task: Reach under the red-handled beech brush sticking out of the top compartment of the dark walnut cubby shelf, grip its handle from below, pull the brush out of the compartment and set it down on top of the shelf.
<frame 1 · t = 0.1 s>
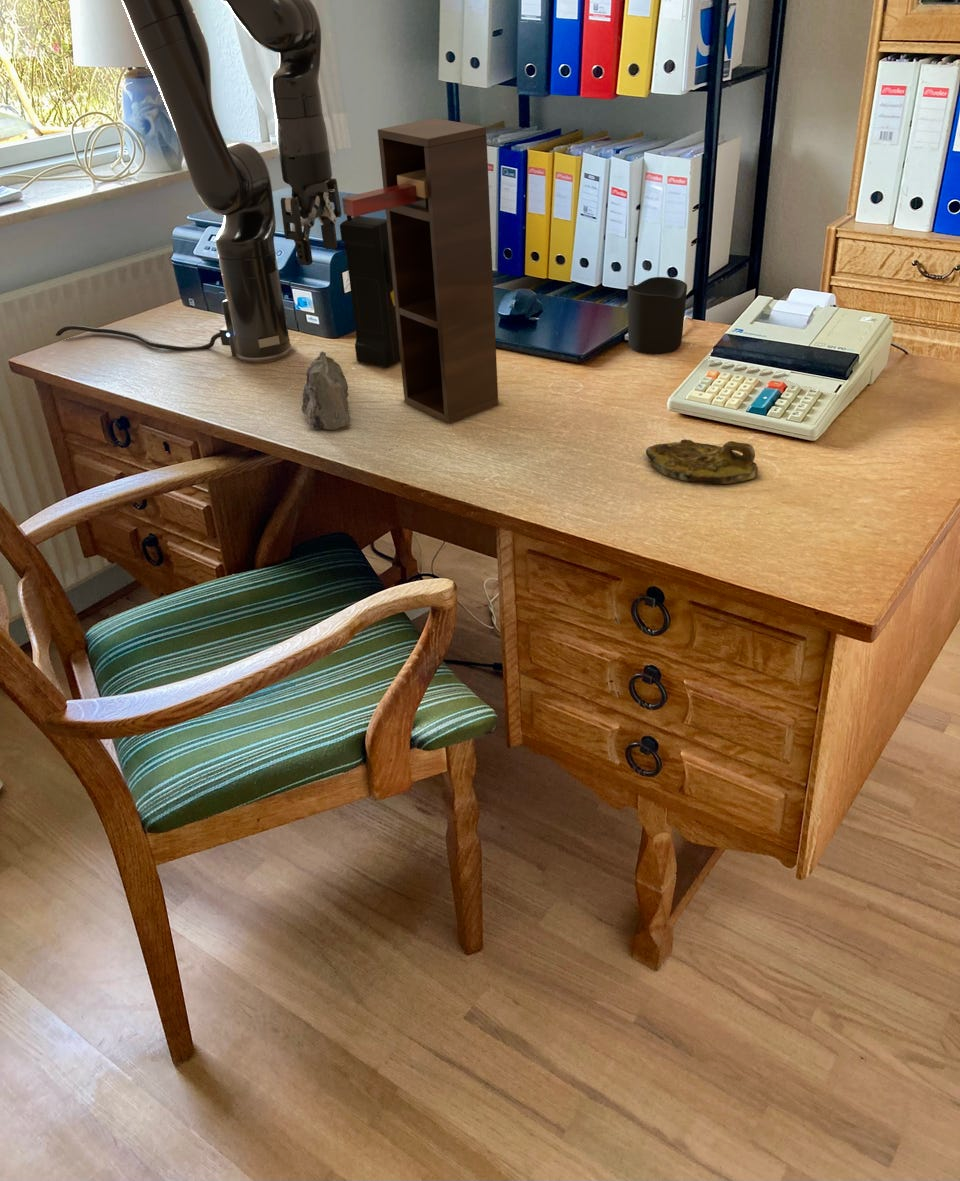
hand: (318, 256, 163), 17 cm above the table, tool pointing down, fingers open, 8 cm apart
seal: (699, 468, 134), on the table
brush: (435, 200, 138), point 30 cm above the table, touching shelf
mineral rock: (334, 414, 154), on the table
portable radio: (385, 360, 171), on the table
pen holder: (654, 346, 170), on the table
shelf: (451, 403, 155), on the table
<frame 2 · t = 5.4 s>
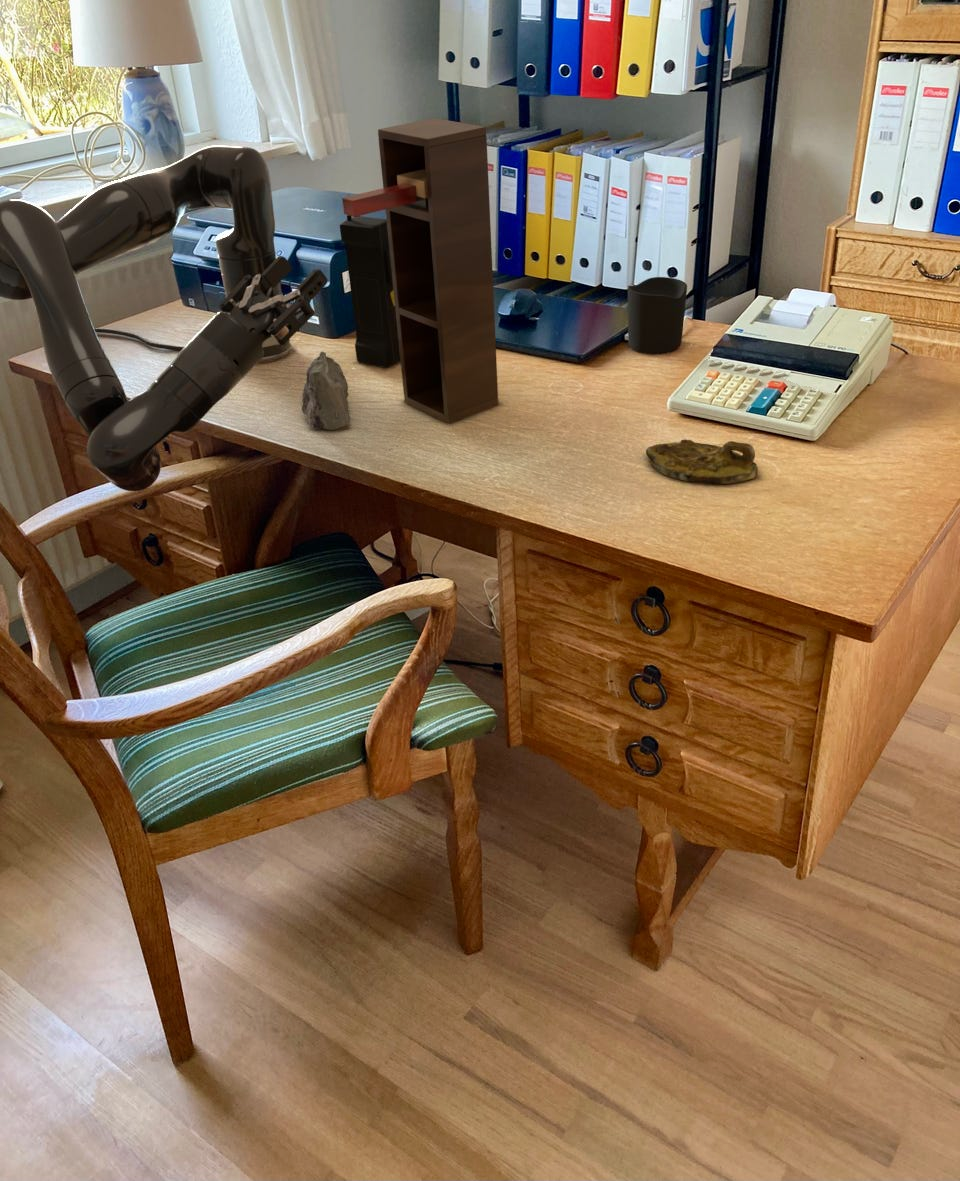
hand: (304, 267, 130), 25 cm above the table, tool pointing upward, fingers open, 8 cm apart
nothing on the table moved.
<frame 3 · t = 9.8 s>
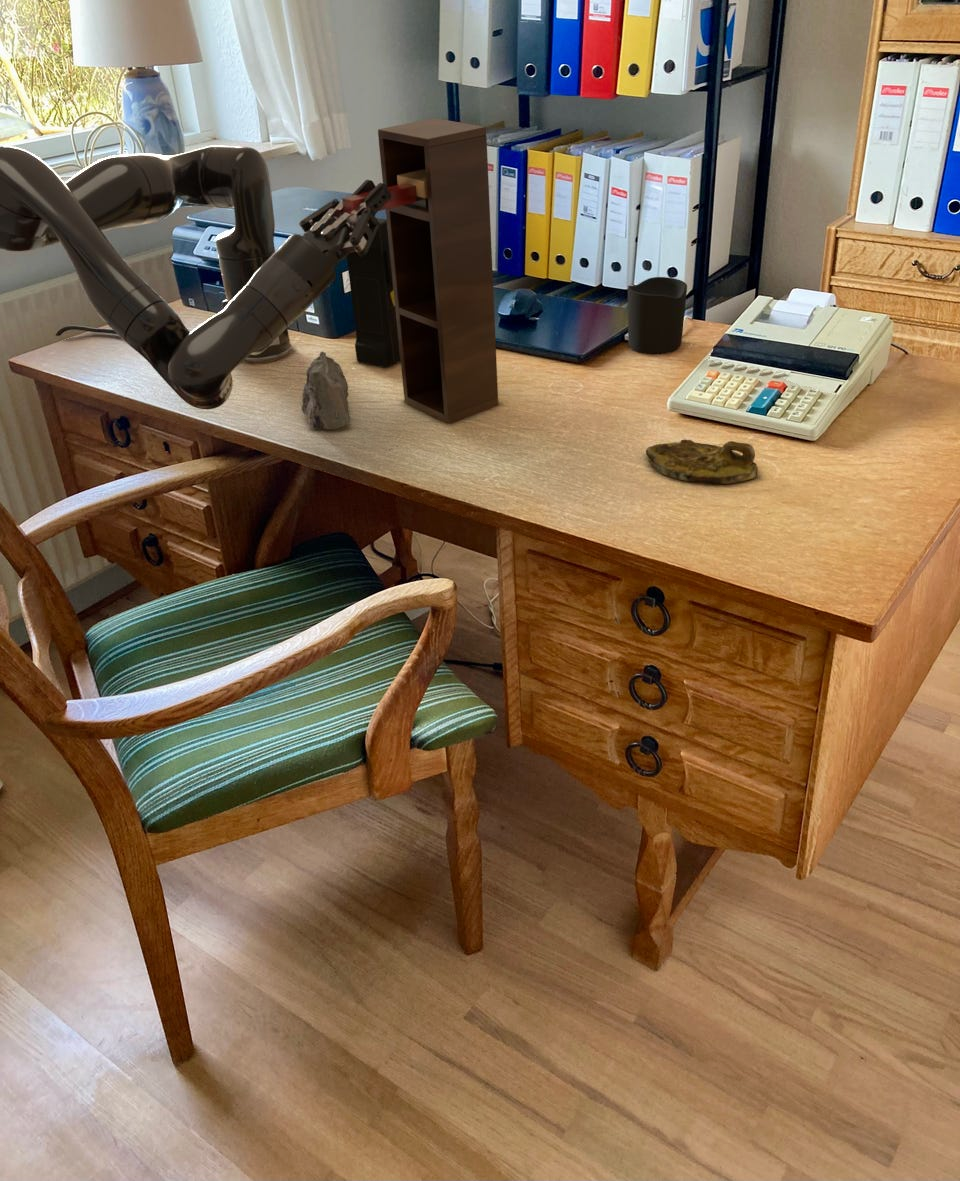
hand: (379, 187, 132), 33 cm above the table, tool pointing upward, fingers closed on brush, 2 cm apart
brush: (435, 200, 138), point 30 cm above the table, touching gripper, shelf
everything else where it was.
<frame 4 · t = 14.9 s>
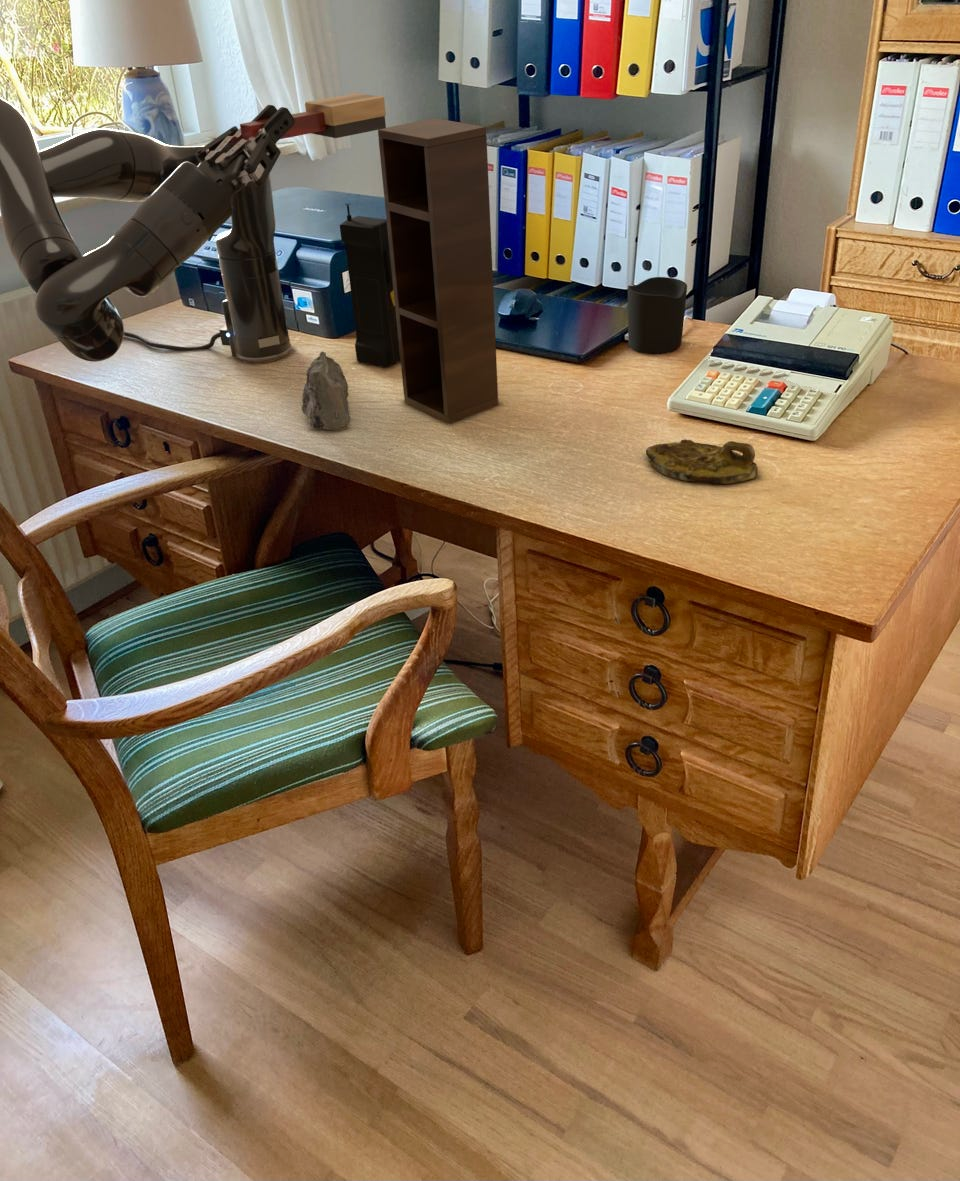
hand: (282, 112, 120), 43 cm above the table, tool pointing upward, fingers closed on brush, 2 cm apart
brush: (348, 130, 126), point 40 cm above the table, touching gripper
everything else where it was.
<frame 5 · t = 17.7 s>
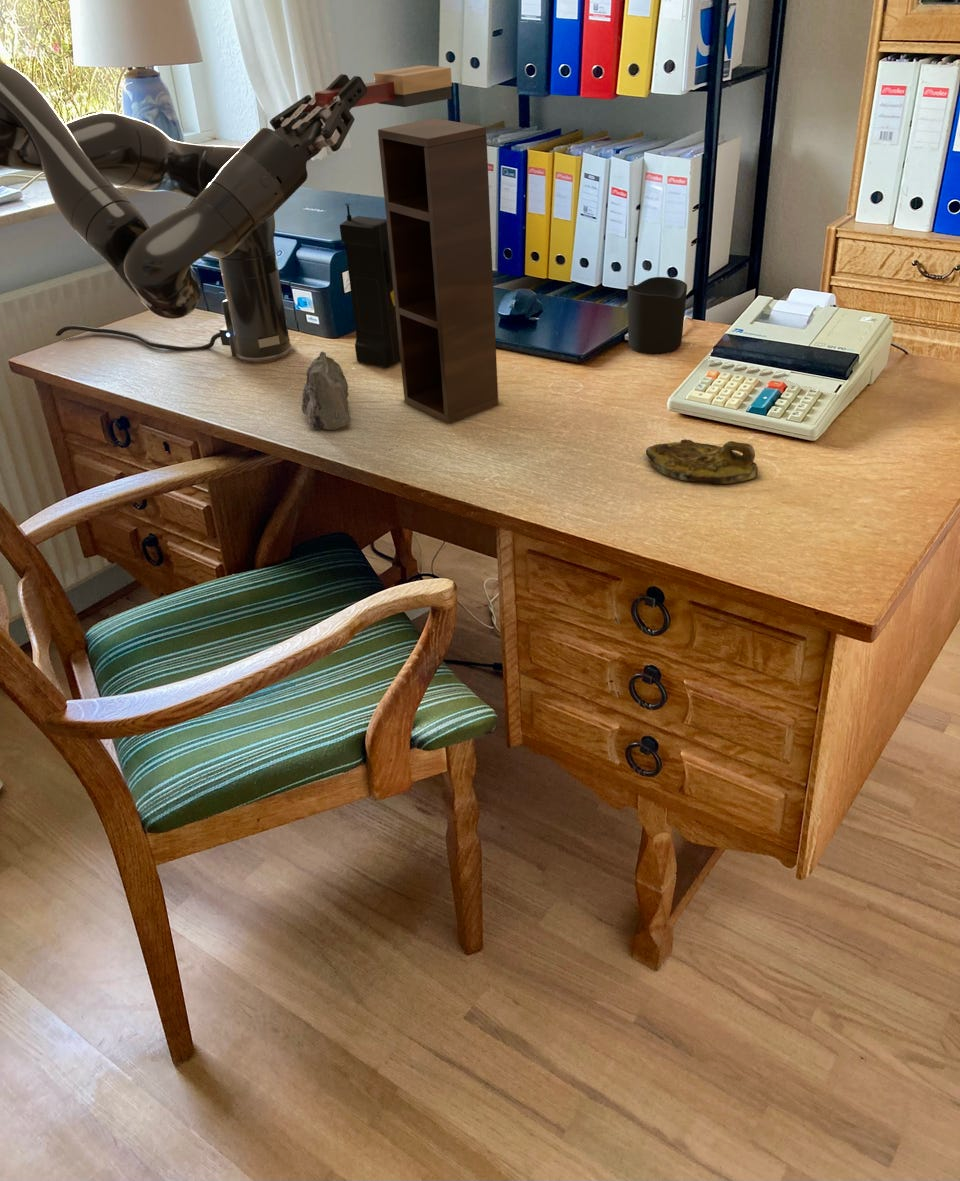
hand: (355, 82, 124), 45 cm above the table, tool pointing upward, fingers closed on brush, 2 cm apart
brush: (414, 101, 130), point 42 cm above the table, touching gripper
everything else where it was.
when the fingers open (42 cm above the table, at t = 19.8 s): brush stays where it is, resting on shelf.
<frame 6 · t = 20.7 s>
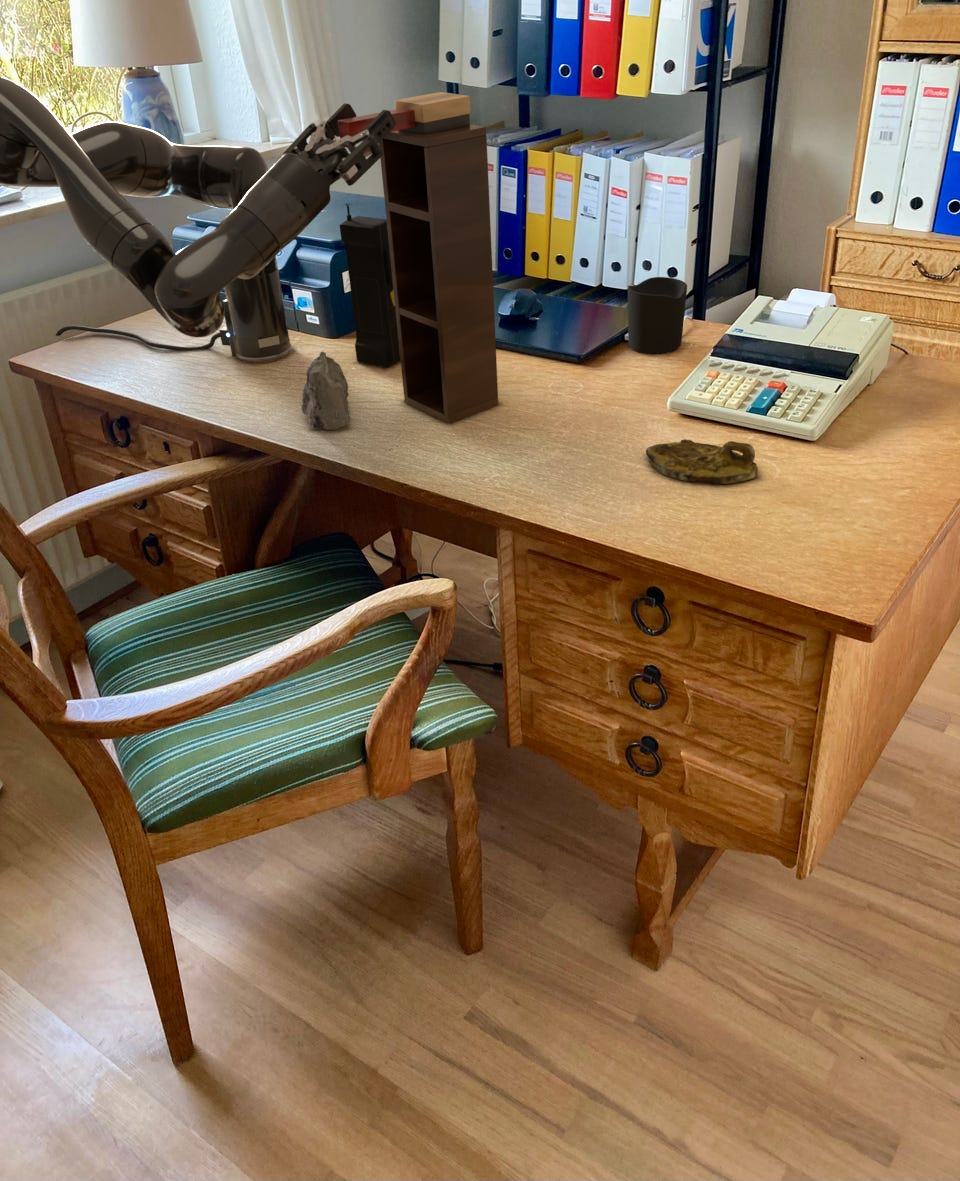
hand: (371, 112, 127), 42 cm above the table, tool pointing upward, fingers open, 8 cm apart
brush: (434, 127, 134), point 39 cm above the table, touching shelf
everything else where it was.
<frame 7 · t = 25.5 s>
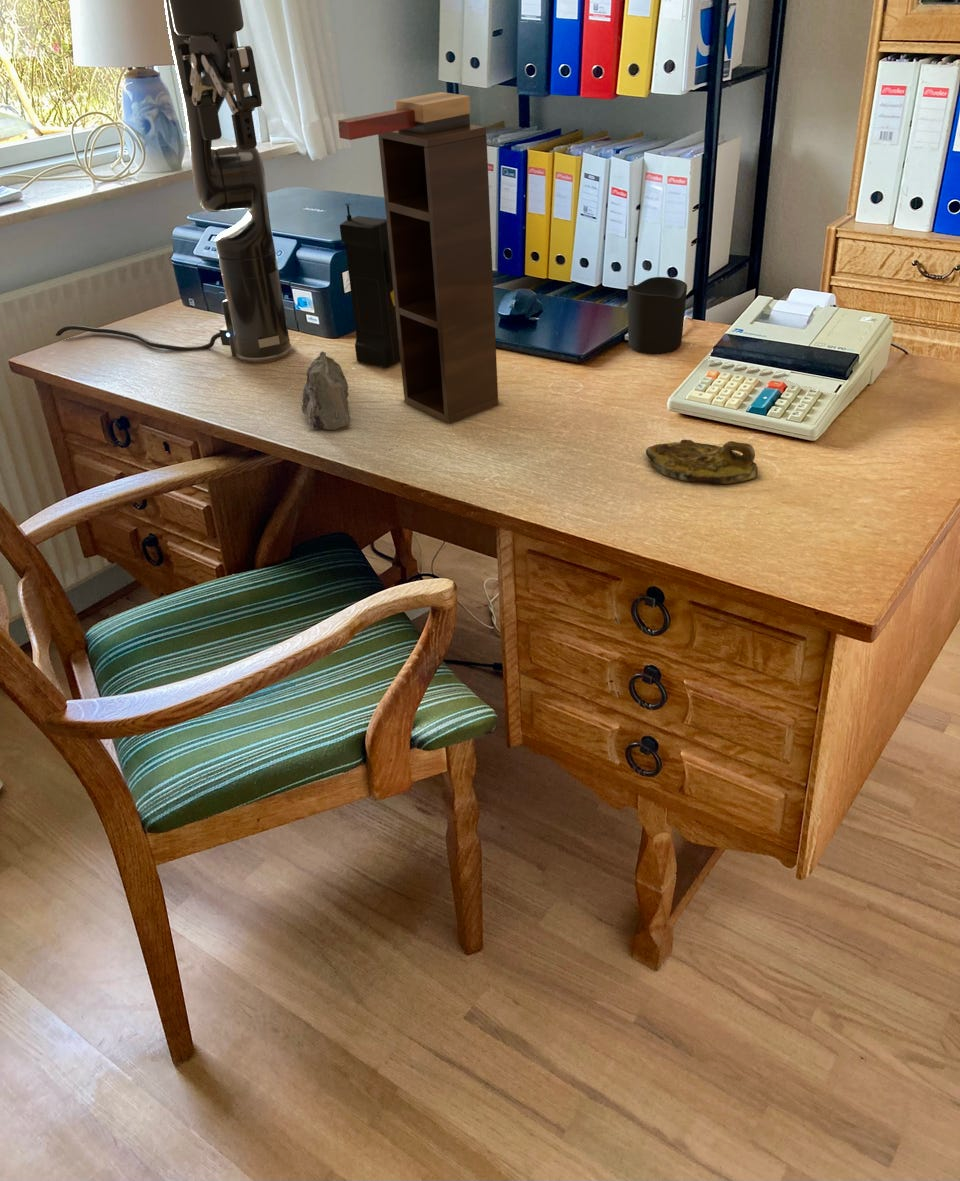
hand: (229, 143, 119), 41 cm above the table, tool pointing down, fingers open, 8 cm apart
nothing on the table moved.
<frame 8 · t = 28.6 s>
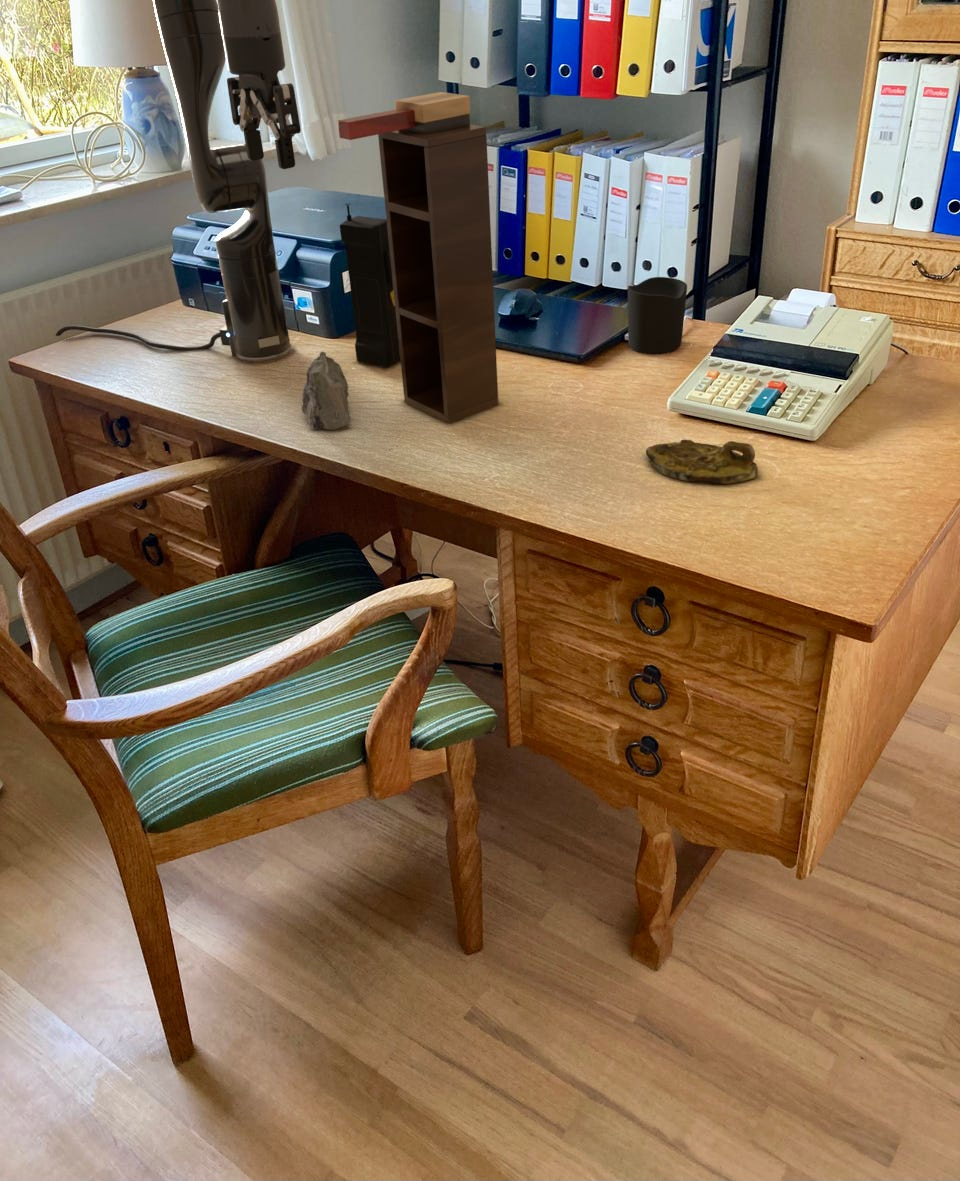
hand: (271, 163, 142), 34 cm above the table, tool pointing down, fingers open, 8 cm apart
nothing on the table moved.
at the end: brush inside the target area on the shelf (0.3 cm from its centre), point 38.6 cm above the shelf's base; brush tilted 0°; the gripper is holding nothing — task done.
